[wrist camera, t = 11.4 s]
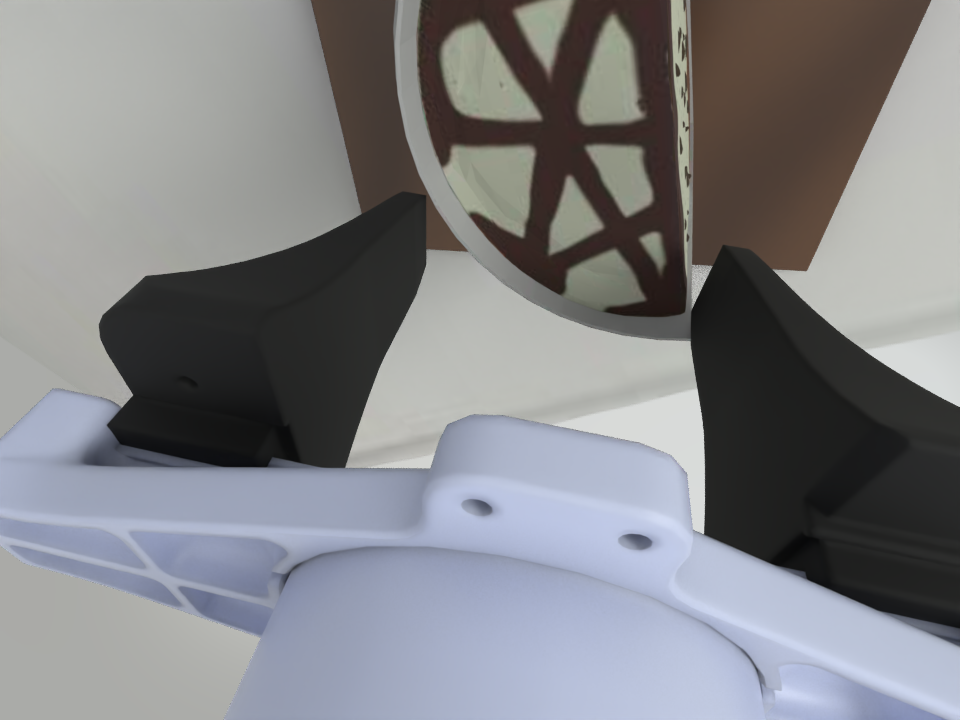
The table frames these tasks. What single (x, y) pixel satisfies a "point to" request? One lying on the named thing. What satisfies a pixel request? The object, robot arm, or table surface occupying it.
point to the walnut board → (716, 113)
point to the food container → (560, 148)
